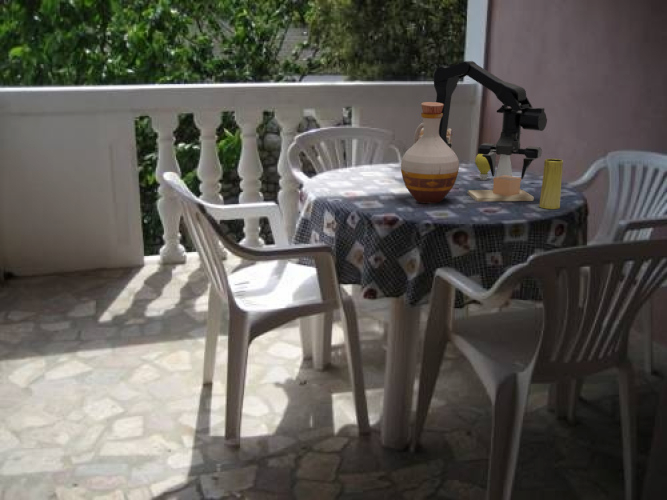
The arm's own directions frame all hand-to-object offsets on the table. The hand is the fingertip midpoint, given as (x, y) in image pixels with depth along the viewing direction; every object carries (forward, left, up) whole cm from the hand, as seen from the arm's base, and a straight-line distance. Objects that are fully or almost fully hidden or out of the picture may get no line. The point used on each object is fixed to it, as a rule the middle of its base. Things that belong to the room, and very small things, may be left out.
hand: (507, 177), depth 226 cm
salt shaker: (+6, +22, -6) cm, 24 cm away
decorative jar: (-13, +47, -7) cm, 49 cm away
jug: (-26, -2, -6) cm, 27 cm away
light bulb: (+1, +29, -6) cm, 30 cm away
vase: (+9, -14, -6) cm, 18 cm away
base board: (-2, 0, -6) cm, 7 cm away
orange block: (0, +1, -5) cm, 5 cm away
